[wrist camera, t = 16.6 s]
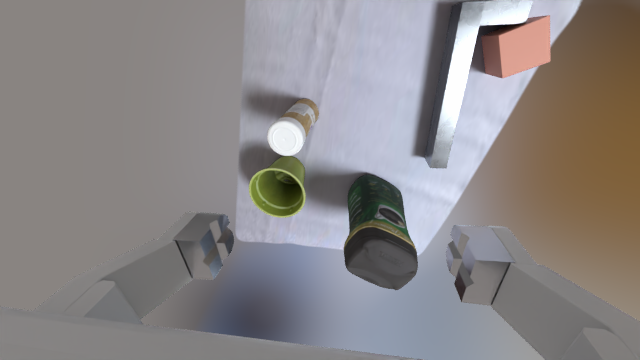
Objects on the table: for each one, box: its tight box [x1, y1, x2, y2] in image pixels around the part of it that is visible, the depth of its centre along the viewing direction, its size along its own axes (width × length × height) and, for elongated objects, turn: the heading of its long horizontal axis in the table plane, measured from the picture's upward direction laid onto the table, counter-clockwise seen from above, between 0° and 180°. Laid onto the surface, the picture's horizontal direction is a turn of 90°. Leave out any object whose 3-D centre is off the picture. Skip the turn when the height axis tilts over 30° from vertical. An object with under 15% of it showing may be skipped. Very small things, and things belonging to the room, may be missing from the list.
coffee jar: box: [344, 175, 418, 290], centre depth 40 cm, size 10×8×19 cm
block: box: [481, 15, 550, 78], centre depth 32 cm, size 5×5×5 cm
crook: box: [425, 0, 533, 168], centre depth 35 cm, size 21×7×4 cm, turn 2°
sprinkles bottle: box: [267, 99, 319, 156], centre depth 36 cm, size 5×5×13 cm
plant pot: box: [249, 156, 306, 218], centre depth 44 cm, size 9×9×9 cm
